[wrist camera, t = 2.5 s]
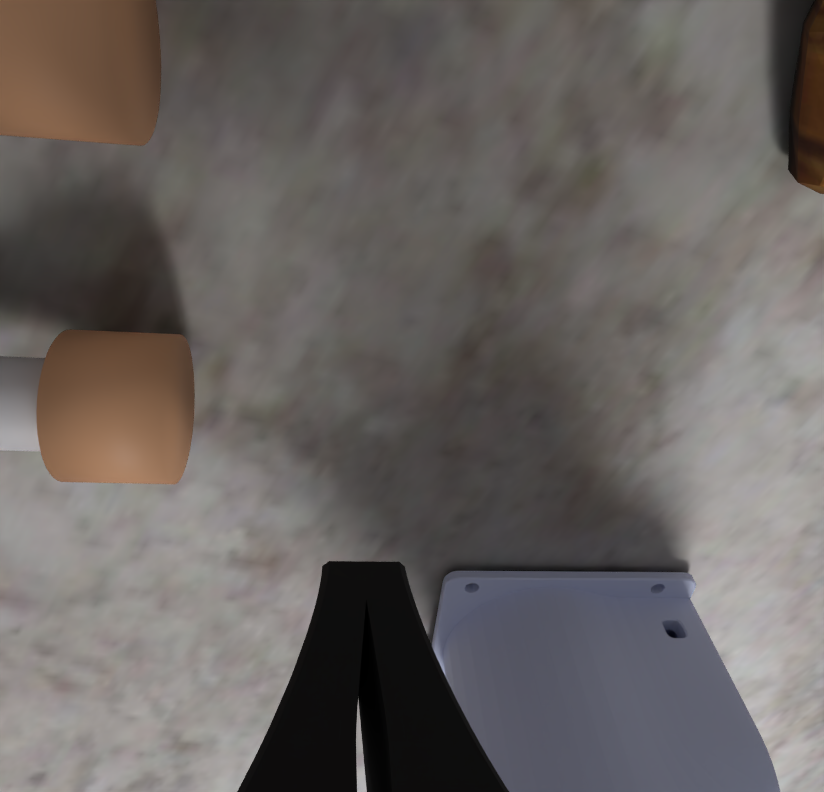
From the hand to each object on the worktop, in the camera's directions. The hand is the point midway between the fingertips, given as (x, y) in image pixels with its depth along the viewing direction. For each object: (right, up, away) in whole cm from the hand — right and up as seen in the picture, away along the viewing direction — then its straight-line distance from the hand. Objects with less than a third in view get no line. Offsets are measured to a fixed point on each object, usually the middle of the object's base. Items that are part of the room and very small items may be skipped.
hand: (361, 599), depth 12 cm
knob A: (-9, +4, +5) cm, 11 cm away
